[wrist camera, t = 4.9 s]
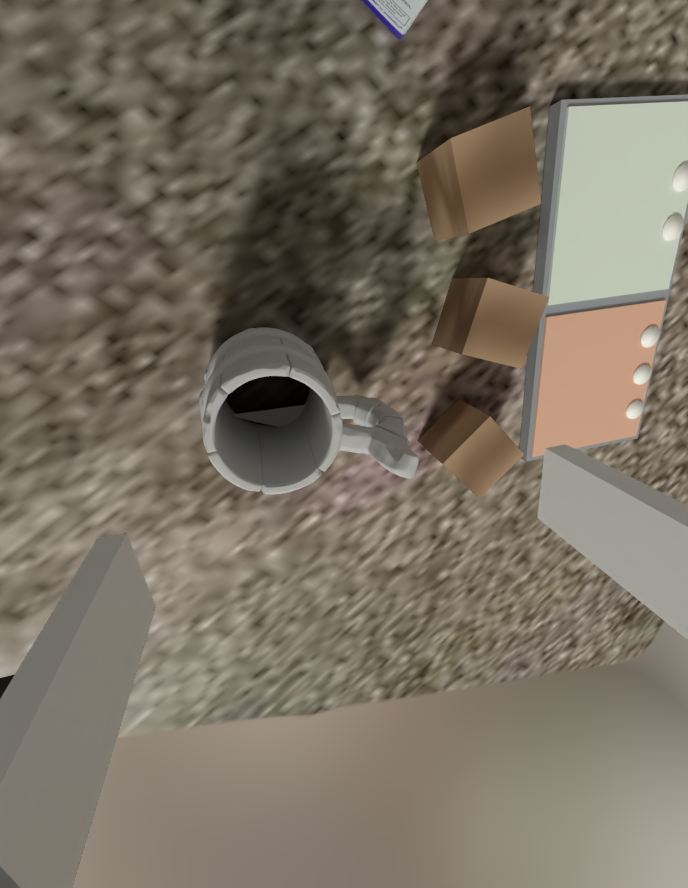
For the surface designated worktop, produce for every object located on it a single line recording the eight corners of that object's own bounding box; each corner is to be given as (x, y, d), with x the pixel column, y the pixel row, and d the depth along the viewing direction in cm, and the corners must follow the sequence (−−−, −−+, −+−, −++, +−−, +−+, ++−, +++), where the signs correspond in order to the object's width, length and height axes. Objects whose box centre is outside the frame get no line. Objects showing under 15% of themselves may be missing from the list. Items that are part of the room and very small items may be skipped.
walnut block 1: (416, 163, 24) (450, 138, 20) (482, 135, 24) (529, 106, 20) (434, 241, 26) (468, 233, 22) (495, 215, 26) (541, 203, 22)
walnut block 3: (417, 440, 31) (442, 464, 27) (457, 398, 30) (490, 416, 26) (450, 471, 33) (479, 498, 29) (489, 432, 32) (524, 454, 28)
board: (549, 106, 24) (565, 97, 23) (697, 100, 26) (719, 90, 25) (518, 456, 34) (529, 463, 32) (627, 434, 35) (641, 439, 34)
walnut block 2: (451, 278, 27) (487, 277, 23) (505, 295, 28) (549, 297, 24) (431, 343, 28) (461, 354, 24) (483, 356, 30) (521, 368, 25)
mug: (213, 313, 24) (183, 338, 13) (388, 349, 28) (478, 392, 17) (201, 428, 27) (169, 527, 16) (363, 448, 30) (427, 541, 19)
